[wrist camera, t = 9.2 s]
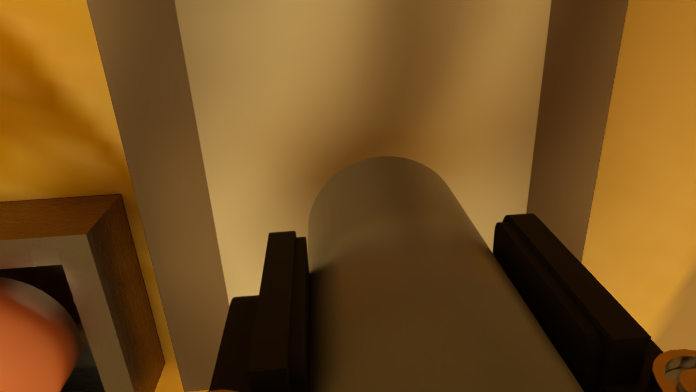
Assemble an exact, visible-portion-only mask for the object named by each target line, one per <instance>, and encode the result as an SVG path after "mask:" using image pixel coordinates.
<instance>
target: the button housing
mask: <svg viewBox="0 0 696 392" xmlns="http://www.w3.org/2000/svg"><path fill="white" fill-rule="evenodd" d="M0 277H4V278H9V279H14V280H17V281H21V282H24V283H26V284H29V285H31V286H34V287H36V288H37V289H39V290H41V291H43V292H45V293H46V294H48V295H49V296H51V297H52V298H54V299H55V300H56V301H57V302H59V303H60V304H61V305H62V306H63V307H64V308H65V309H66V311H67V312H68V313H69V314H70V315H71V317H72V319H73V320H74V322H75V323H76V326H77V328H78V330H79V334H80V337H81V354H80V357H79V360H78V362H77V364H76V366H75V368H74V370H73V371H72V373H71V375H70V376H69V378H68V380H67V381H66V383H65V385H64V386H63V388H62V390H61V391H60V392H155V389H156V386H157V384H158V381H159V378H160V376H161V373H162V370H163V368H164V365H165V361H164V357H163V354H162V350H161V346H160V342H159V338H158V335H157V331H156V327H155V323H154V319H153V316H152V312H151V308H150V304H149V300H148V296H147V293H146V289H145V285H144V281H143V277H142V274H141V270H140V266H139V262H138V258H137V255H136V251H135V247H134V243H133V239H132V235H131V232H130V228H129V224H128V220H127V216H126V213H125V209H124V205H123V201H122V197H121V194H115V195H100V196H85V197H71V198H56V199H41V200H26V201H11V202H0Z"/></svg>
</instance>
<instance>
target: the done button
mask: <svg viewBox="0 0 696 392" xmlns="http://www.w3.org/2000/svg"><path fill="white" fill-rule="evenodd" d="M80 354H81V337H80V334H79V330H78V328H77V326H76V323H75V322H74V320H73V319H72V317H71V315H70V314H69V313H68V312H67V311H66V309H65V308H64V307H63V306H62V305H61V304H60V303H59V302H57V301H56V300H55V299H54V298H52V297H51V296H49V295H48V294H46V293H45V292H43V291H41V290H39V289H37V288H36V287H34V286H31V285H29V284H26V283H24V282H21V281H17V280H14V279H9V278H4V277H0V392H60V391H61V390H62V388H63V386H64V385H65V383H66V381H67V380H68V378H69V376H70V375H71V373H72V371H73V370H74V368H75V366H76V364H77V362H78V360H79V357H80Z"/></svg>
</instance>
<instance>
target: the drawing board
mask: <svg viewBox="0 0 696 392" xmlns="http://www.w3.org/2000/svg"><path fill="white" fill-rule="evenodd" d="M87 4H88V8H89V12H90V16H91V20H92V24H93V28H94V32H95V36H96V40H97V44H98V48H99V52H100V56H101V60H102V64H103V68H104V72H105V76H106V80H107V84H108V88H109V92H110V96H111V100H112V104H113V108H114V112H115V116H116V120H117V124H118V128H119V132H120V136H121V140H122V144H123V148H124V152H125V156H126V160H127V164H128V168H129V172H130V176H131V180H132V184H133V188H134V192H135V196H136V200H137V204H138V209H139V213H140V217H141V221H142V225H143V229H144V233H145V237H146V241H147V245H148V249H149V253H150V257H151V261H152V265H153V269H154V273H155V277H156V281H157V285H158V289H159V293H160V297H161V301H162V305H163V309H164V313H165V317H166V321H167V325H168V329H169V333H170V337H171V341H172V345H173V349H174V353H175V357H176V361H177V365H178V369H179V373H180V377H181V381H182V385H183V389H184V392H187V391H199V390H209V389H210V385H211V380H212V376H213V372H214V368H215V364H216V360H217V356H218V352H219V348H220V343H221V339H222V335H223V331H224V327H225V323H226V319H227V315H228V311H229V306H230V303H231V300H232V298H233V297H241V296H253V295H259V292H260V285H261V279H262V273H263V266H264V260H265V254H266V248H267V241H268V235H269V233H271V232H284V231H295V232H296V237H306V242H307V252H308V222H309V215H310V211H311V208H312V205H313V203H314V201H315V198H316V197H317V195H318V193H319V192H320V190H321V189H322V188H323V186H324V185H325V184H326V183H327V182H328V181H329V180H330V179H331V178H332V177H333V176H334V175H336V174H337V173H338V172H340V171H341V170H342V169H344V168H346V167H348V166H350V165H352V164H354V163H356V162H359V161H362V160H365V159H369V158H374V157H382V156H394V157H403V158H407V159H411V160H414V161H417V162H419V163H422V164H424V165H425V166H427V167H429V168H431V169H432V170H433V171H434V172H436V173H437V174H438V175H439V176H440V177H441V178H442V179H443V180H444V181H445V182H446V184H447V185H448V187H449V188H450V189H451V191H452V192H453V194H454V195H455V197H456V199H457V200H458V202H459V203H460V205H461V206H462V208H463V209H464V211H465V212H466V214H467V215H468V217H469V218H470V220H471V221H472V223H473V224H474V226H475V227H476V229H477V230H478V232H479V233H480V235H481V236H482V238H483V239H484V241H485V242H486V244H487V245H488V247H489V248H490V250H491V251H492V253H493V241H494V230H495V225H496V223H497V222H503V219H504V217H505V216H506V215H514V214H528V213H533V214H535V215H536V216H537V217H538V218H539V219H540V220H541V221H542V222H543V223H544V224H545V225H546V226H547V228H548V229H549V230H550V231H551V232H552V233H553V234H554V235H555V236H556V237H557V238H558V239H559V240H560V241H561V242H562V243H563V244H564V245H565V247H566V248H567V249H568V250H569V251H570V252H571V253H572V254H573V255H574V256H575V257H576V258H577V259H578V260H579V261H580V262H581V261H582V256H583V250H584V244H585V239H586V233H587V228H588V222H589V217H590V211H591V205H592V200H593V194H594V189H595V183H596V178H597V172H598V167H599V161H600V155H601V150H602V144H603V139H604V133H605V128H606V122H607V116H608V111H609V105H610V100H611V94H612V89H613V83H614V78H615V72H616V66H617V61H618V55H619V50H620V44H621V39H622V33H623V27H624V22H625V16H626V11H627V5H628V0H87Z"/></svg>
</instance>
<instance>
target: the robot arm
mask: <svg viewBox="0 0 696 392" xmlns="http://www.w3.org/2000/svg"><path fill="white" fill-rule="evenodd" d="M493 255H494V256H495V258H496V259H497V261H498V262H499V264H500V265H501V267H502V268H503V270H504V271H505V273H506V274H507V276H508V277H509V279H510V280H511V282H512V283H513V285H514V286H515V288H516V289H517V291H518V292H519V294H520V295H521V297H522V298H523V300H524V301H525V303H526V304H527V306H528V307H529V309H530V310H531V312H532V314H533V315H534V317H535V318H536V320H537V321H538V323H539V324H540V326H541V327H542V329H543V330H544V332H545V333H546V335H547V336H548V338H549V339H550V341H551V342H552V344H553V345H554V347H555V348H556V350H557V351H558V353H559V354H560V356H561V357H562V359H563V360H564V362H565V363H566V365H567V366H568V368H569V370H570V371H571V373H572V374H573V376H574V377H575V379H576V380H577V382H578V383H579V385H580V386H581V388H582V389H583V391H584V392H696V351H694V350H687V349H681V350H670V351H667V352H664V353H663V351H661V350H660V348H659V347H658V346H657V345H656V344H655V343H654V342H653V341H652V340H651V336H650V335H649V334H648V333H647V332H646V331H645V330H644V329H643V328H642V327H641V326H640V325H639V324H638V323H637V322H636V321H635V320H634V318H633V317H632V316H631V315H630V314H629V313H628V312H627V311H626V310H625V309H624V308H623V307H622V306H621V305H620V304H619V303H618V302H617V300H616V299H615V298H614V297H613V296H612V295H611V294H610V293H609V292H608V291H607V290H606V289H605V288H604V287H603V286H602V285H601V284H600V283H599V281H598V280H597V279H596V278H595V277H594V276H593V275H592V274H591V273H590V272H589V271H588V270H587V269H586V268H585V267H584V266H583V265H582V263H581V262H580V261H579V260H578V259H577V258H576V257H575V256H574V255H573V254H572V253H571V252H570V251H569V250H568V249H567V248H566V247H565V245H564V244H563V243H562V242H561V241H560V240H559V239H558V238H557V237H556V236H555V235H554V234H553V233H552V232H551V231H550V230H549V229H548V228H547V226H546V225H545V224H544V223H543V222H542V221H541V220H540V219H539V218H538V217H537V216H536V215H535V214H533V213H528V214H514V215H506V216H505V217H504V219H503V222H497V223H496V225H495V230H494V241H493ZM208 392H309V263H308V252H307V242H306V237H296V232H295V231H284V232H271V233H269V235H268V241H267V248H266V254H265V260H264V266H263V273H262V279H261V285H260V292H259V295H253V296H241V297H233V298H232V300H231V303H230V306H229V311H228V315H227V319H226V323H225V327H224V331H223V335H222V339H221V343H220V348H219V352H218V356H217V360H216V364H215V368H214V372H213V376H212V380H211V385H210V389H209V391H208Z"/></svg>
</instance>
